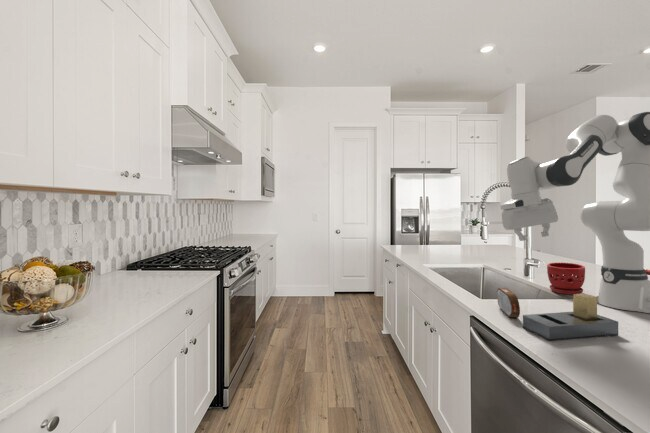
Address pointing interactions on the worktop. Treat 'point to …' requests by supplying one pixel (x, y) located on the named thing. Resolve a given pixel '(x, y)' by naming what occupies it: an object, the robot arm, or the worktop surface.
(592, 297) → the tan rectangular block
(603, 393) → the worktop surface
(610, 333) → the block
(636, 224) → the robot arm
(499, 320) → the worktop surface
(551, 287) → the plant pot
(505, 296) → the tin
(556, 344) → the worktop surface
